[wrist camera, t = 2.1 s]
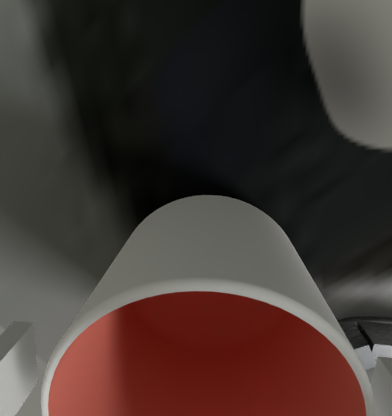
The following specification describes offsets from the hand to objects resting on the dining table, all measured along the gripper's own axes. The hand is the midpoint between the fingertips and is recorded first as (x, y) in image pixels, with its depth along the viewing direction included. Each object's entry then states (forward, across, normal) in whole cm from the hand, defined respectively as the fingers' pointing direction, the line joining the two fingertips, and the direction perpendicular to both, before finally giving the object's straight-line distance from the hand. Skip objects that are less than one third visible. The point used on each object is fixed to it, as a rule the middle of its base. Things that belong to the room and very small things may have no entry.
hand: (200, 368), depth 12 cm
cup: (+7, 0, 0) cm, 7 cm away
